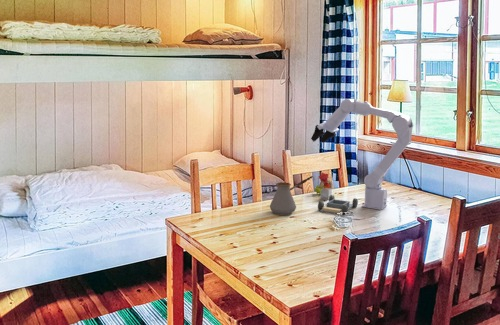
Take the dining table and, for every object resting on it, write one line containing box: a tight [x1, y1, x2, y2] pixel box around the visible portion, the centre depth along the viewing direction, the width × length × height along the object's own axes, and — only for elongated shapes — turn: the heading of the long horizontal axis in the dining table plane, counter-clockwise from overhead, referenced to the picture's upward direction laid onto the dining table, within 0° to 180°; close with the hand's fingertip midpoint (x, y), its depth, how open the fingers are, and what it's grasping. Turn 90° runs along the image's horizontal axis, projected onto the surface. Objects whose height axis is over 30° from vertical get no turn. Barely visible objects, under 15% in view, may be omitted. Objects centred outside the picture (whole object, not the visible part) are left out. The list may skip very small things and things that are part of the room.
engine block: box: [320, 188, 333, 201], centre depth 242 cm, size 4×4×5 cm
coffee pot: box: [269, 175, 316, 216], centre depth 220 cm, size 21×12×15 cm, turn 117°
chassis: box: [317, 194, 359, 215], centre depth 226 cm, size 18×12×4 cm
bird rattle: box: [313, 172, 333, 196], centre depth 252 cm, size 6×11×9 cm
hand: (317, 140), depth 240 cm, fingers open, 7 cm apart
